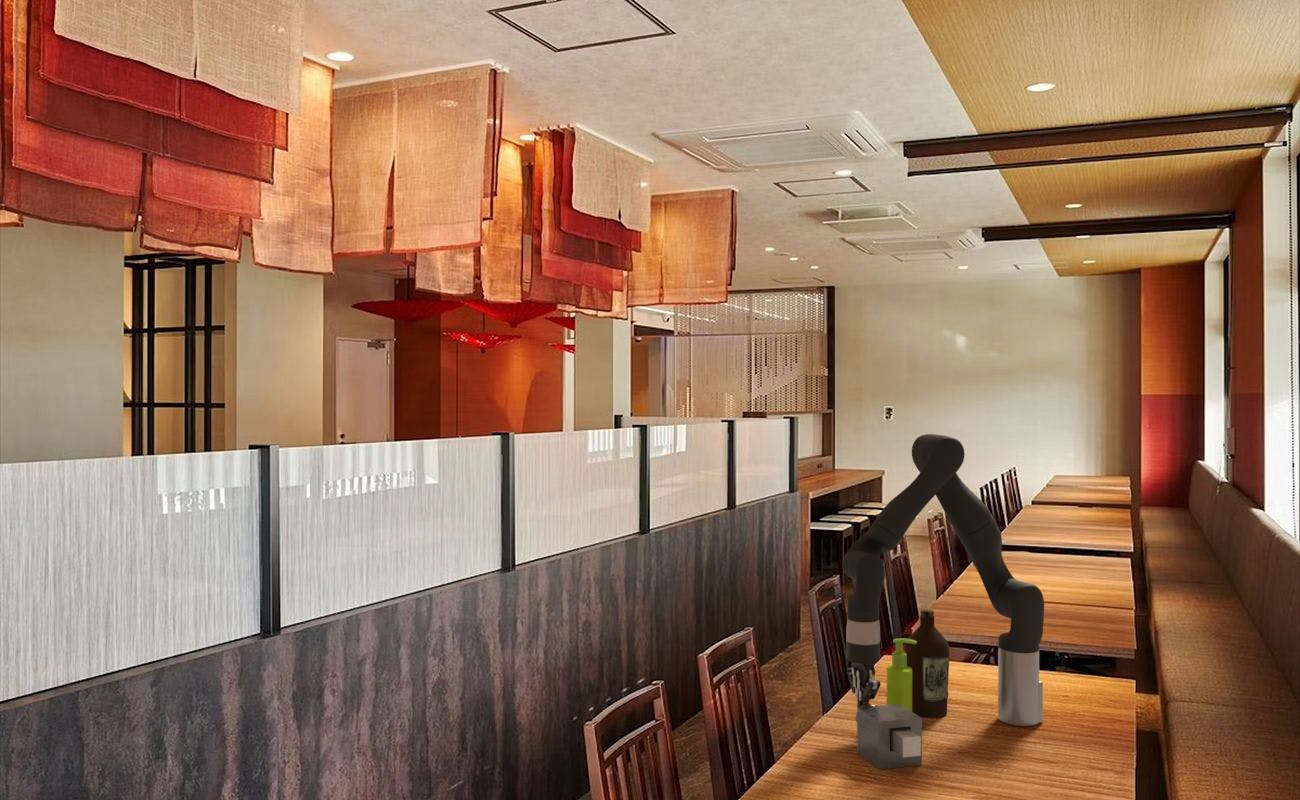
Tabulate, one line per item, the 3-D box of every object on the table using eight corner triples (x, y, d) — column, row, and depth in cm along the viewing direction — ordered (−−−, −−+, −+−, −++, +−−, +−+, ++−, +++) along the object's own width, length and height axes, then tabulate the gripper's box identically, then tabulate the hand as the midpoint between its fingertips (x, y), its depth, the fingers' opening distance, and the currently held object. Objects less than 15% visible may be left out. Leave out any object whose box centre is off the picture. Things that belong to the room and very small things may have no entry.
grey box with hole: (899, 749, 229) (899, 703, 228) (921, 765, 219) (921, 717, 219) (857, 753, 226) (857, 707, 226) (878, 769, 216) (878, 721, 216)
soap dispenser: (917, 728, 243) (917, 642, 243) (886, 726, 244) (887, 641, 244) (916, 720, 248) (916, 637, 248) (886, 718, 250) (886, 635, 250)
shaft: (880, 729, 233) (880, 702, 233) (925, 760, 214) (925, 731, 213) (855, 731, 231) (855, 704, 231) (898, 762, 212) (898, 733, 212)
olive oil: (896, 708, 258) (896, 607, 258) (934, 704, 261) (934, 604, 261) (919, 721, 248) (919, 616, 248) (958, 716, 251) (958, 613, 251)
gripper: (892, 645, 229) (892, 723, 229) (865, 631, 242) (865, 705, 242) (860, 647, 227) (860, 726, 227) (835, 633, 240) (835, 708, 240)
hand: (863, 715), depth 235 cm, fingers closed
